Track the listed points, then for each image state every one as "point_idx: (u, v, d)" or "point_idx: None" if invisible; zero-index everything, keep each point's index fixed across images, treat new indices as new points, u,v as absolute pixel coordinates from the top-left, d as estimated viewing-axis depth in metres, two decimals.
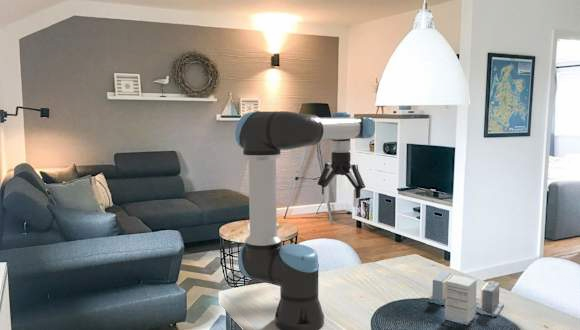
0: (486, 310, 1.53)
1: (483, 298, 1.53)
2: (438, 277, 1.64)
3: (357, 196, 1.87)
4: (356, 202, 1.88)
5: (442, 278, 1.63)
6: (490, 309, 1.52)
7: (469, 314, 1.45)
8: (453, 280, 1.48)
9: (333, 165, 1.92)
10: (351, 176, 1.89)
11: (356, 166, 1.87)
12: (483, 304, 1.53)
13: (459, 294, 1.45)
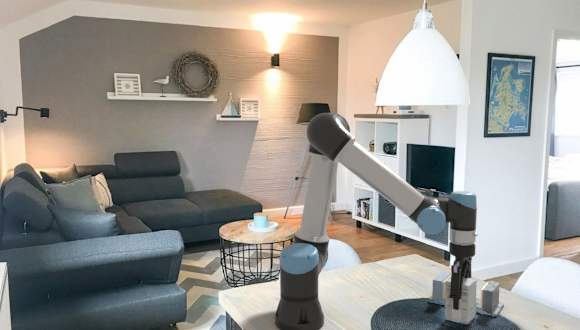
0: (486, 310, 1.53)
1: (483, 298, 1.53)
2: (438, 277, 1.64)
3: None
4: (455, 314, 1.46)
5: (442, 278, 1.63)
6: (490, 309, 1.52)
7: (469, 314, 1.45)
8: None
9: None
10: None
11: (455, 269, 1.42)
12: (483, 304, 1.53)
13: None
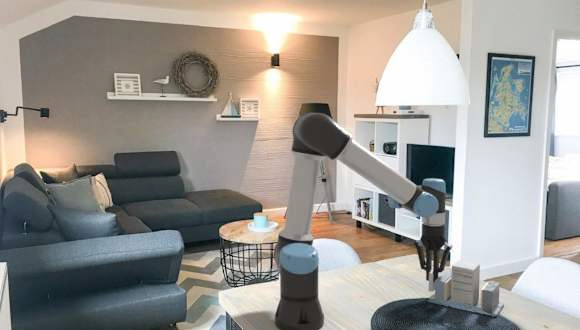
0: (486, 310, 1.53)
1: (483, 298, 1.53)
2: (440, 277, 1.64)
3: None
4: (433, 286, 1.67)
5: (444, 278, 1.63)
6: (490, 309, 1.52)
7: (474, 296, 1.57)
8: (458, 265, 1.60)
9: (423, 238, 1.67)
10: (438, 256, 1.65)
11: (450, 249, 1.63)
12: (483, 304, 1.53)
13: (465, 277, 1.57)
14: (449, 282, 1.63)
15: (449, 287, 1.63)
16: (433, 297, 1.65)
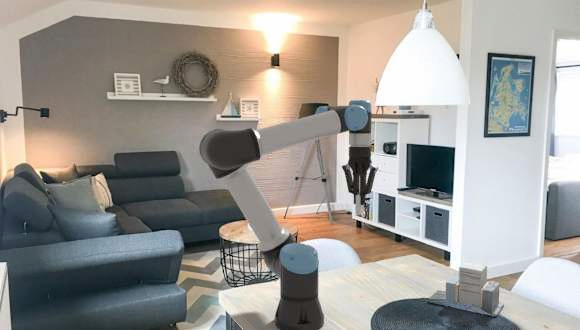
0: (486, 310, 1.53)
1: (483, 298, 1.53)
2: (451, 279, 1.62)
3: (362, 203, 1.65)
4: (361, 209, 1.66)
5: (455, 280, 1.61)
6: (490, 309, 1.52)
7: None
8: (466, 266, 1.58)
9: (350, 161, 1.66)
10: (364, 178, 1.64)
11: (376, 170, 1.62)
12: (483, 304, 1.53)
13: (472, 279, 1.56)
14: None
15: None
16: (433, 297, 1.65)
